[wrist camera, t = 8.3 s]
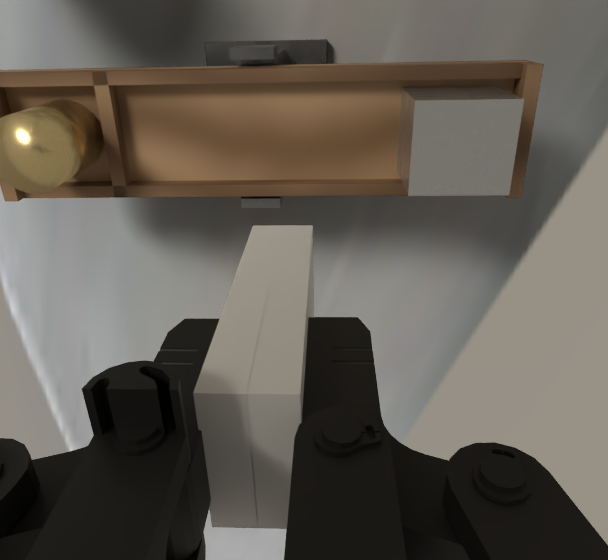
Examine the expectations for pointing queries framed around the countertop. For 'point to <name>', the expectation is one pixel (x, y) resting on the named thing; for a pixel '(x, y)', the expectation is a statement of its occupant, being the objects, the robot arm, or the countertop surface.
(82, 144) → the cylinder
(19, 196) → the wooden tray
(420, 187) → the block
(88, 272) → the countertop surface
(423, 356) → the countertop surface
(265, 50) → the fulcrum
